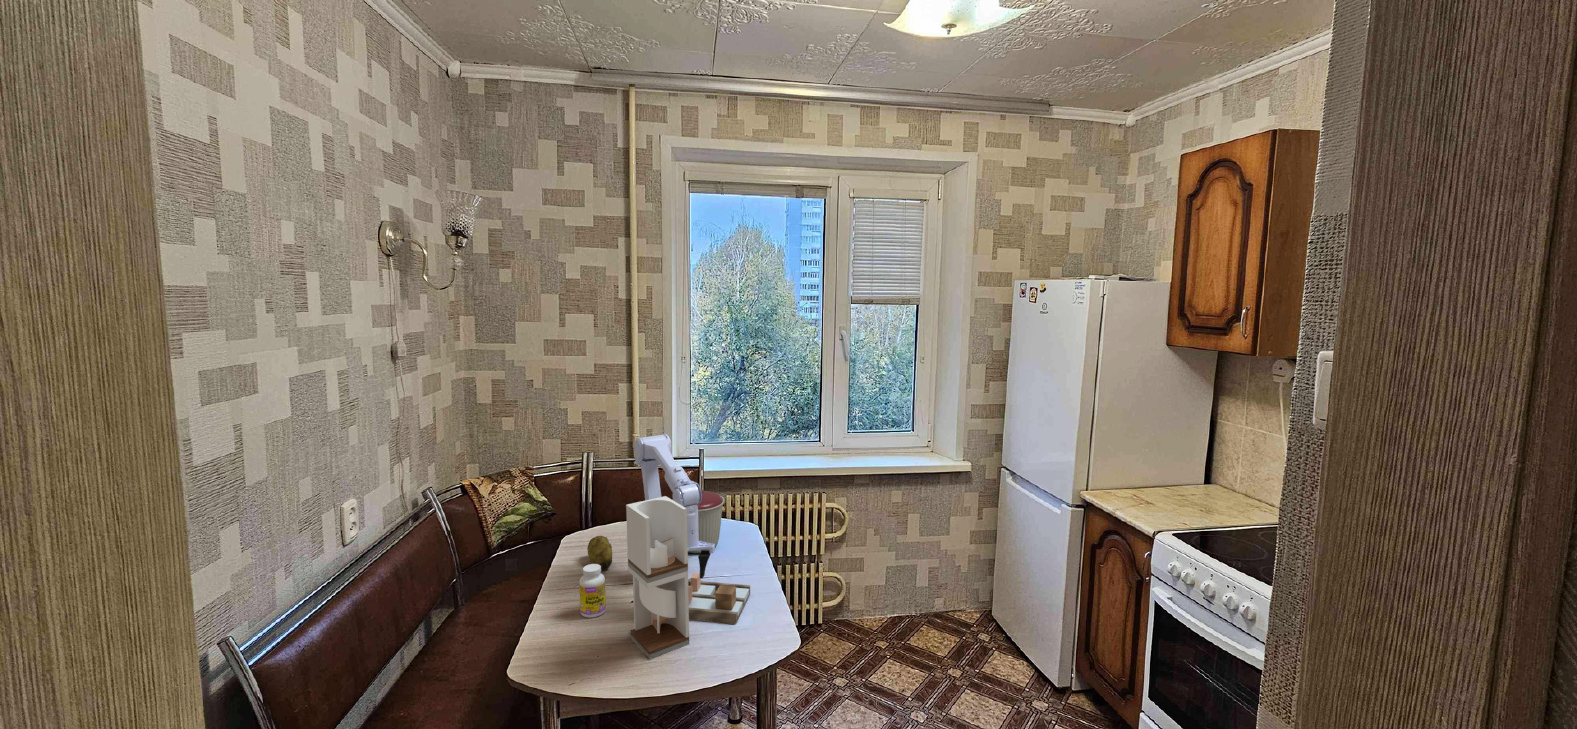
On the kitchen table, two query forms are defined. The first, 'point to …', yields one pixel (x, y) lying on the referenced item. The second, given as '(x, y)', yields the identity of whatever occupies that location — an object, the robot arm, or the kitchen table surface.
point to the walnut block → (725, 597)
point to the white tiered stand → (658, 574)
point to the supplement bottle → (592, 591)
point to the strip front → (709, 603)
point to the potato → (600, 552)
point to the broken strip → (712, 588)
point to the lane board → (716, 614)
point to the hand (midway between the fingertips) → (688, 575)
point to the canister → (709, 517)
